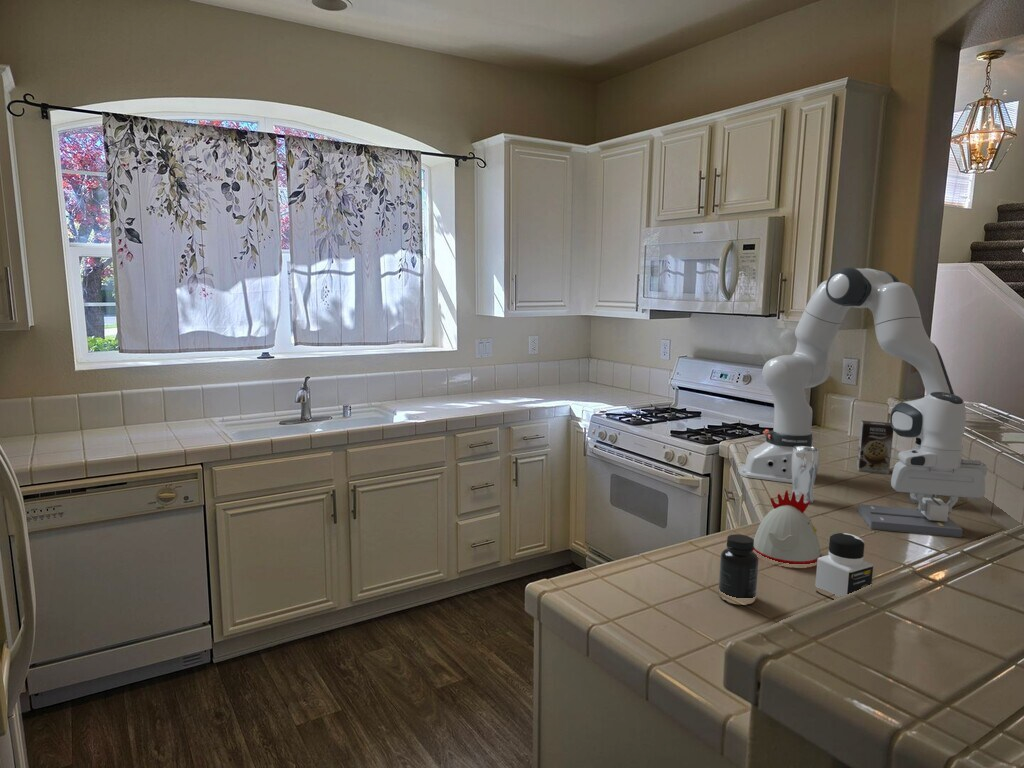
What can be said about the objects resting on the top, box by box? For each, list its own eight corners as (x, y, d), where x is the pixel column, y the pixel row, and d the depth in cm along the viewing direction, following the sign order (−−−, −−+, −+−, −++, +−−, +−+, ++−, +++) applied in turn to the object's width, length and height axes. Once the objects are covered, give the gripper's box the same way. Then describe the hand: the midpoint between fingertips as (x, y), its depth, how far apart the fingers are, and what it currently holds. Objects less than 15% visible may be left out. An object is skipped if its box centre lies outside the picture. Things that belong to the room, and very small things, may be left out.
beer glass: (815, 498, 191) (819, 447, 189) (815, 505, 184) (819, 452, 182) (789, 495, 194) (792, 444, 191) (788, 501, 187) (791, 449, 185)
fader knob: (929, 520, 167) (930, 504, 166) (920, 512, 172) (922, 496, 172) (947, 521, 166) (948, 505, 165) (938, 513, 171) (940, 498, 171)
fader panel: (870, 529, 167) (871, 520, 166) (857, 511, 180) (857, 503, 180) (961, 537, 162) (962, 529, 161) (940, 518, 175) (941, 510, 175)
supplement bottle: (747, 590, 132) (751, 532, 130) (761, 606, 125) (765, 545, 123) (713, 590, 132) (716, 532, 130) (725, 606, 125) (729, 545, 123)
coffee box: (858, 471, 220) (862, 423, 218) (856, 466, 226) (860, 419, 224) (889, 474, 217) (894, 425, 214) (886, 469, 223) (891, 422, 220)
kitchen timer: (814, 574, 140) (819, 505, 138) (746, 559, 147) (750, 493, 145) (823, 552, 152) (828, 488, 150) (760, 539, 159) (764, 478, 157)
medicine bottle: (846, 607, 125) (852, 546, 124) (814, 591, 132) (818, 533, 130) (871, 599, 129) (876, 539, 127) (838, 584, 135) (842, 527, 133)
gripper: (982, 458, 167) (976, 511, 169) (891, 452, 172) (886, 503, 174) (993, 464, 161) (986, 519, 163) (899, 457, 166) (893, 511, 168)
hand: (934, 511), depth 169 cm, fingers closed on fader knob, 4 cm apart
